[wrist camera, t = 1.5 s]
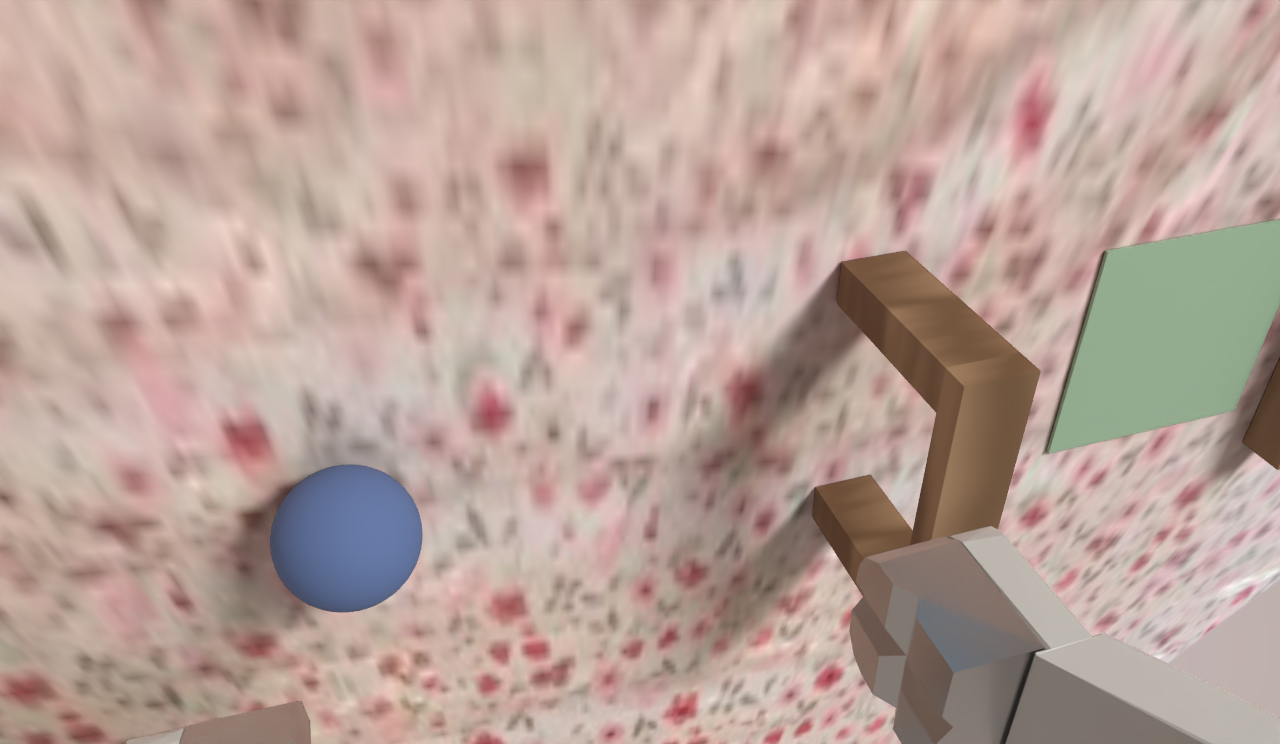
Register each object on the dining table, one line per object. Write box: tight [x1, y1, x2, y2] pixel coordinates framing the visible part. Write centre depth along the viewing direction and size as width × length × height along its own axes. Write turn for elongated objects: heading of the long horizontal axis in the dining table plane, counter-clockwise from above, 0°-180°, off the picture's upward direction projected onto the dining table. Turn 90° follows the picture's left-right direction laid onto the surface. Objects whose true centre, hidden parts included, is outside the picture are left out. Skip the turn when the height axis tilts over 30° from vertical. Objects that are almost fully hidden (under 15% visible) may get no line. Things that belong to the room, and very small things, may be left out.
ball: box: [270, 465, 422, 612], centre depth 37 cm, size 6×6×6 cm
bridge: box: [812, 251, 1041, 596], centre depth 41 cm, size 3×15×9 cm, turn 2°
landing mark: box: [1047, 219, 1280, 453], centre depth 49 cm, size 12×12×1 cm
